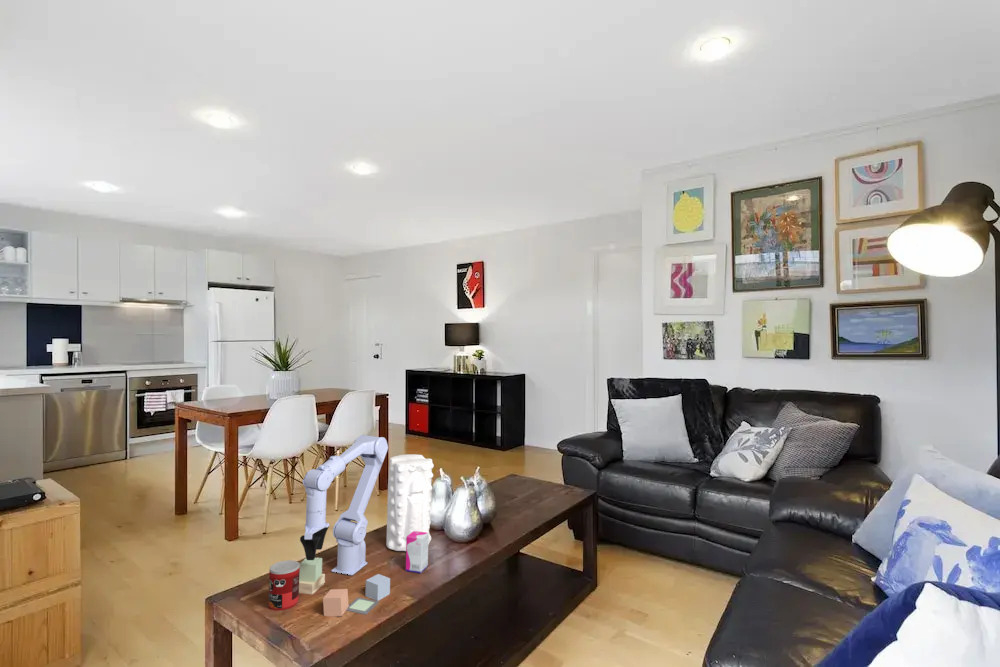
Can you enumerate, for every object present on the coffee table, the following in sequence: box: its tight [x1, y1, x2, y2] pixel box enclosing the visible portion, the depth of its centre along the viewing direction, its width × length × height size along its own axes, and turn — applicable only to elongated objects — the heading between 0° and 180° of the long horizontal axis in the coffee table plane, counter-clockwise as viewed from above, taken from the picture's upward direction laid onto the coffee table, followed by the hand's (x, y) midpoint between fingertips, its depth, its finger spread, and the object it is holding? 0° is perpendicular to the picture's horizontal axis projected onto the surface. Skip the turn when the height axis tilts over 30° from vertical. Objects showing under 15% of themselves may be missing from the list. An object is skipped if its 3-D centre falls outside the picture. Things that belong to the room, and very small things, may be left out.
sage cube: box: [299, 557, 323, 582], centre depth 154 cm, size 5×5×5 cm
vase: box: [385, 453, 435, 552], centre depth 189 cm, size 17×16×32 cm
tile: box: [345, 597, 380, 616], centre depth 144 cm, size 7×7×1 cm
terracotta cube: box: [322, 588, 350, 617], centre depth 141 cm, size 5×5×5 cm
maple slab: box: [299, 573, 326, 595], centre depth 154 cm, size 7×7×4 cm
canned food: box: [268, 559, 300, 611], centre depth 145 cm, size 8×8×11 cm
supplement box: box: [405, 531, 430, 574], centre depth 169 cm, size 6×6×12 cm
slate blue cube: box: [364, 573, 391, 602], centre depth 151 cm, size 5×5×5 cm
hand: (314, 554), depth 154 cm, fingers open, 7 cm apart
